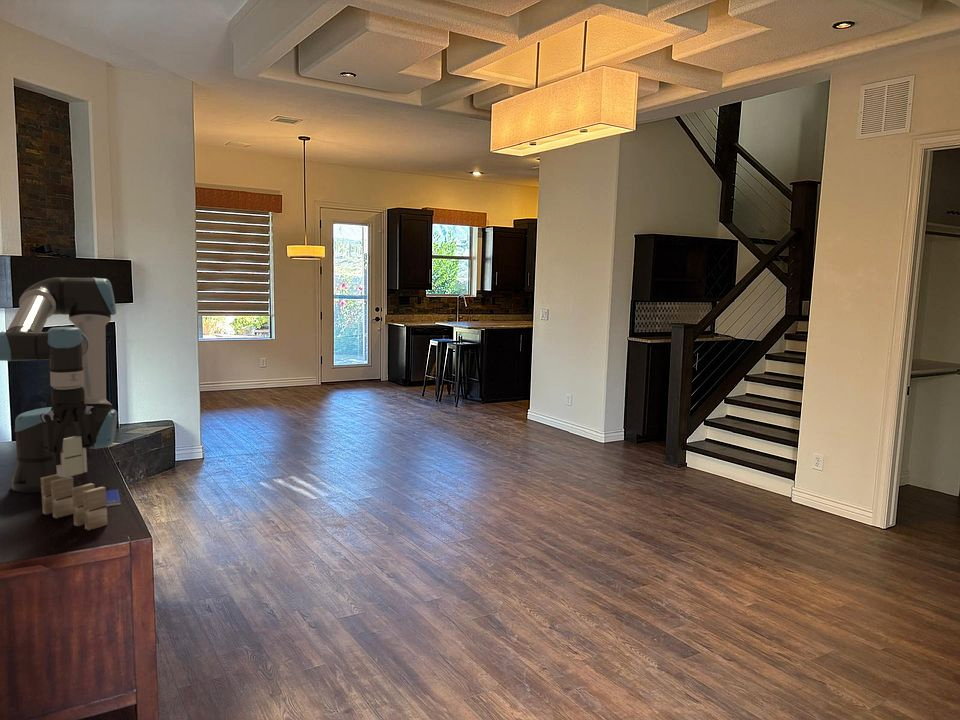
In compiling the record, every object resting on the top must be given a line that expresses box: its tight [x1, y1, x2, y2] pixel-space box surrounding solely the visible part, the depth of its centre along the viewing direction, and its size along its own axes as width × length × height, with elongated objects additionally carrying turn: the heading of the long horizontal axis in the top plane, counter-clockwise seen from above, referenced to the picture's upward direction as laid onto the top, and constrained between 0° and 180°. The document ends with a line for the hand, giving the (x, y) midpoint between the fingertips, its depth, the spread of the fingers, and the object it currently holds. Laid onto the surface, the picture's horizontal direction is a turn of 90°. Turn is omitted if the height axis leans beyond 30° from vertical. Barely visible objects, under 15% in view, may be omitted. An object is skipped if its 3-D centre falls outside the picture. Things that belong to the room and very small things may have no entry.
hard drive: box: [106, 489, 122, 507], centre depth 202 cm, size 2×8×12 cm
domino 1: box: [40, 474, 62, 516], centre depth 191 cm, size 2×5×10 cm, turn 149°
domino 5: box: [83, 486, 108, 531], centre depth 181 cm, size 2×5×10 cm, turn 149°
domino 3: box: [51, 476, 75, 519], centre depth 189 cm, size 2×5×10 cm, turn 149°
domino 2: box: [61, 436, 84, 478], centre depth 185 cm, size 2×5×10 cm, turn 149°
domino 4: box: [72, 482, 96, 527], centre depth 184 cm, size 2×5×10 cm, turn 149°
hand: (72, 473), depth 185 cm, fingers closed on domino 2, 5 cm apart
